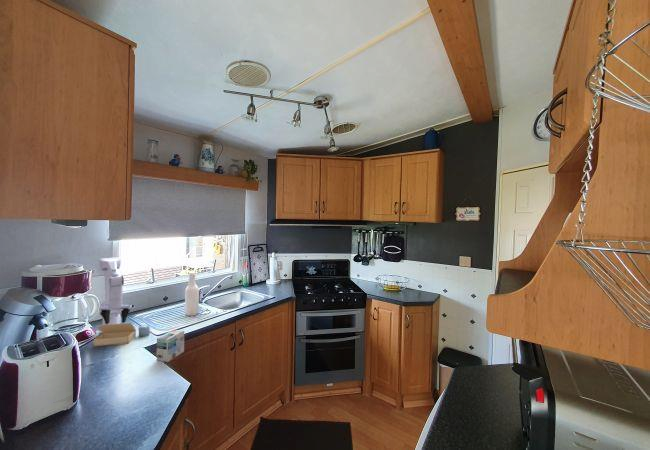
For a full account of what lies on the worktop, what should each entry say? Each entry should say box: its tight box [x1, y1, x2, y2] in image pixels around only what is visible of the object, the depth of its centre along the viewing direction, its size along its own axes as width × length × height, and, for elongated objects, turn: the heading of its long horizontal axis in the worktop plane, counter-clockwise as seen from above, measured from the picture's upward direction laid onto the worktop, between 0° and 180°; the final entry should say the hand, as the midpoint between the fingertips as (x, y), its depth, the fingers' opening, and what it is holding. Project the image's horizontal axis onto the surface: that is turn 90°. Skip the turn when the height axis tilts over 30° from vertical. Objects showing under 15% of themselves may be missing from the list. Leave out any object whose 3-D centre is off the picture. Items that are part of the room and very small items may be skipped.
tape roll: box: [138, 324, 151, 338], centre depth 147 cm, size 5×5×5 cm
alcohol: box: [184, 271, 200, 317], centre depth 181 cm, size 9×9×30 cm
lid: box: [96, 322, 137, 334], centre depth 140 cm, size 8×16×1 cm
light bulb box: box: [156, 329, 185, 363], centre depth 124 cm, size 11×7×11 cm, turn 168°
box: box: [92, 330, 137, 347], centre depth 139 cm, size 8×16×4 cm, turn 103°
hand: (115, 322), depth 139 cm, fingers open, 7 cm apart
